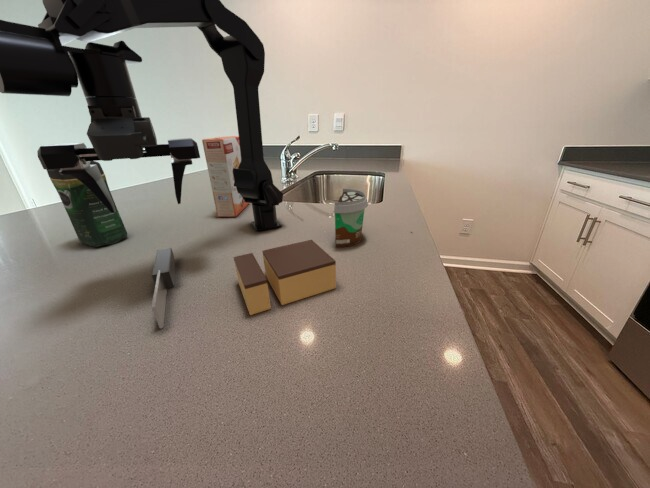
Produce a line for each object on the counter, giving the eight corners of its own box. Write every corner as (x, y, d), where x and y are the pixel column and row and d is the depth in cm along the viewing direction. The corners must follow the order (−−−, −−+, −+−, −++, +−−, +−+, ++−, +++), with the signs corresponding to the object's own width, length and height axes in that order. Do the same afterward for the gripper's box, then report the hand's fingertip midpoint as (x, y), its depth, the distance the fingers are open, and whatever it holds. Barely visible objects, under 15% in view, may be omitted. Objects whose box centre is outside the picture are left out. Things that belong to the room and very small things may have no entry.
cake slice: (238, 283, 43) (233, 256, 41) (256, 278, 44) (252, 252, 42) (250, 315, 36) (244, 285, 34) (271, 308, 37) (266, 279, 35)
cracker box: (237, 217, 73) (223, 138, 64) (216, 218, 73) (199, 138, 64) (251, 203, 86) (240, 135, 77) (233, 203, 86) (220, 136, 77)
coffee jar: (135, 237, 62) (104, 156, 54) (96, 250, 56) (56, 161, 48) (113, 231, 66) (81, 155, 58) (75, 243, 60) (34, 159, 52)
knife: (161, 264, 50) (156, 247, 48) (175, 261, 51) (170, 244, 49) (151, 331, 33) (141, 309, 32) (171, 325, 34) (164, 303, 33)
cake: (265, 276, 45) (262, 250, 43) (312, 263, 48) (311, 239, 46) (281, 305, 37) (278, 276, 35) (336, 288, 41) (335, 260, 39)
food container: (364, 251, 52) (366, 204, 48) (334, 249, 53) (334, 203, 49) (367, 229, 63) (369, 188, 59) (342, 227, 64) (343, 187, 60)
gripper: (-22, 90, 25) (53, 236, 32) (188, 94, 33) (213, 211, 39) (31, 99, 34) (81, 211, 41) (186, 101, 42) (207, 195, 48)
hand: (148, 207), depth 42 cm, fingers open, 9 cm apart
